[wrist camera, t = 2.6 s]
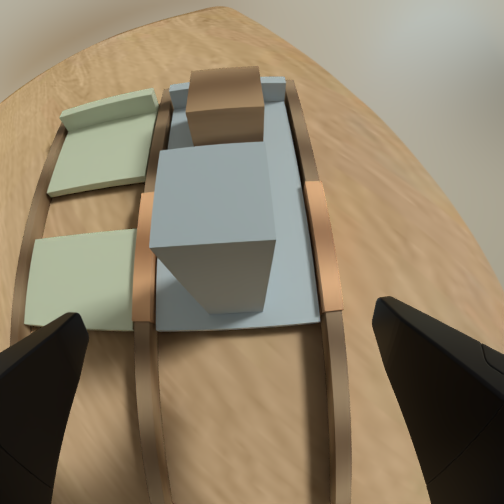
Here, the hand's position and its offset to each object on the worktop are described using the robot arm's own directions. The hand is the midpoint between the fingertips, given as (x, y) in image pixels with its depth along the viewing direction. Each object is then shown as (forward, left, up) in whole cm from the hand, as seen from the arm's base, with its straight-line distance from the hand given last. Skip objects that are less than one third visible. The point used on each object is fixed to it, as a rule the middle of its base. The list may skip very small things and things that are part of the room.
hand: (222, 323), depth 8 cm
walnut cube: (+16, 0, -9) cm, 18 cm away
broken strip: (+11, +12, -10) cm, 19 cm away
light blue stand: (+11, 0, -10) cm, 15 cm away
